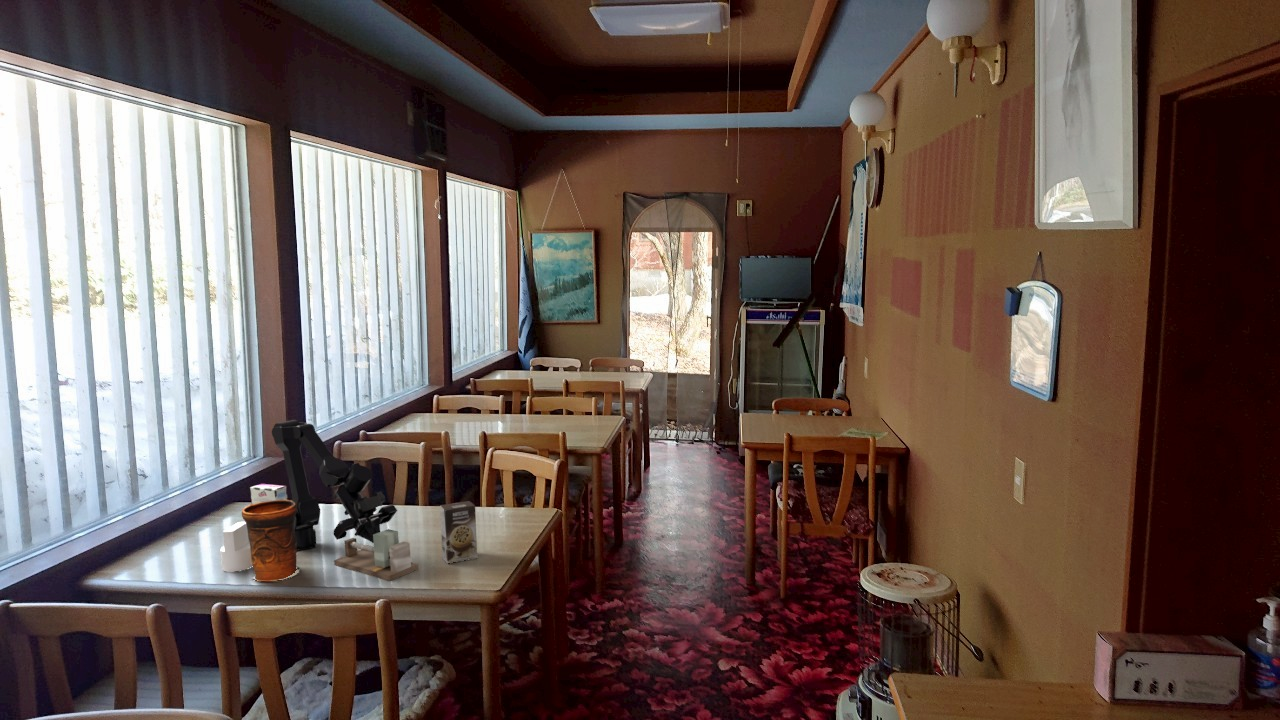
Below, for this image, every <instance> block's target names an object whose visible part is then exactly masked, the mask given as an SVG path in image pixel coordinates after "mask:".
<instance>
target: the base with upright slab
mask: <svg viewBox="0 0 1280 720" xmlns="http://www.w3.org/2000/svg"><path fill="white" fill-rule="evenodd" d="M222 537H223V538H222V539H223V546H221V548H220V549H219V551H220V561H221V571H222V572H224V571H227V572H226V573H235V572H234V571H239V572H241V571H240V570H244V571H246V570H245V569H247V568H250V567H252V566H253V565H252V563H251V549H250V543H249V539H248V530H247V524H246V522H245V521H238V522H236V523H235V524H232V525H231V526H230V527H228V528H227V529H224V530H223V531H222ZM252 568H253V567H252ZM250 569H251V568H250ZM247 570H248V569H247Z"/></svg>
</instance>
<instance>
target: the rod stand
mask: <svg viewBox="0 0 1280 720" xmlns="http://www.w3.org/2000/svg"><path fill="white" fill-rule="evenodd" d="M410 544H411V543H410V542H407V541H404V540H403V541H401V542H399V543H398V544H395V545H393V546H390V547H389V550H390V552H388V556H389V557H390V566H388V567H386V568H382V567H379V566H375V556H374V546H371V545H368V544H364V543H361V542H357V538H355V537H351V538H348V539H346V540H344V553H345V555H344V556H342V557H339V558H336V559H334V560H333V562H334V564H333V565H334V566H336V567H341V568H343V569H348V570H350V571H354V572H356V573H361V574H364V575H368V576H371V577H375V578H378V579H381V580H385V581H388V582H391V581H394V580H396V579H398V578H401V577H402V576H406V575H407V574H410V573H412V572H415V571H418V570H419V564H418V563H416V562H412V561H411V545H410ZM414 570H415V571H414ZM409 572H410V573H409Z"/></svg>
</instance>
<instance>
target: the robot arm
mask: <svg viewBox="0 0 1280 720" xmlns="http://www.w3.org/2000/svg"><path fill="white" fill-rule="evenodd" d="M271 435H272V438H273V440H274V444H275V446H277V447H278V448H279V449H280V451H282V453H283V454H282V455H283V458H284V462H285V463H284V464H285V470H286V474H287V478H288V482H289V483H288V484H289V488H290V493H291V499H290V501H293V502H295V503H296V505H297V513H296V515H295V520H294V531H295V537H296V541H297V551H302V549H303V550H309V549H314V548H316V544H317V534H316V533H317V532H316V529H315V528H314V526H318V525H319V521H320V516H321V508H320V505H319V504H320V503H319V499H318V498H317V497H313V496H312V494H310V490H309V483H308V480H307V475H306V471H305V466H304V460H303V456H302V451H301V447H302V445H303V447H304V448H305V450H306V451H307V452H308V454H309V456H310V457H312V459H313V460H314V463H316V465H317V467H318V468H319V471H318V472H319V473H318V476H319V477H320V479H321V481H322V483H323V485H324V486H325V487H327V488H334V487H337V486H339V487H338V488H337V489H335V490H334V492H333V495H332V500H334V501H335V500H338V499H339V501H340V503H341V505H342V506H343V508H344V509H345V511H344V512H343V513H344V515H345V516H348V515H349V517H348V518H345V519H342V520H339V522H338V524H337V525H336V527H335V528H334V529H333V535H334V537H335V539H336V541H337V540H340V539H343V538H346V537H347V534H348V533H347V531H350V530H351V531H352V530H353V529H354V530H355V533H354V537H356V536H359V537H360V538H363V539H366V540H367V541H369V542H370V543H372V544H374V541H373V534H376V533H379V532H381V525H384V524H386V523H388V522H390V521H391V520H392V518H393V517H394V515H396V513H397V512H398V509H397V508H396V505H394V504H388V505H385V506H383V503H385V502H386V498H385V495H384V494H383V492H382V491H378V492H376V493H374V494H373V495H372V496H371V497H367V496H364V497H363V495H362V492H363V491H364V490H365V488H366V487H367V485H368V484H369V483H370V481H371V480H372V478H373V472H372V470H371V469H369V468H368V467H367V466H365V465H361V464H360V463H359V462H355V463H352V464H351V466H350V467H349V466H348V465H347V464H346V463H345V462H344V461H343V460H341V459H339V458H337V457H335V456H334V455H333V454H332V452H331V450H329V448H328V447H327V445H326V444H325V443H324V441H323V440H322V439H321V437H320V436H319V434H318V433H317V432H316V429H315V426H314V424H312V423H307V422H299V420H297V419H291V420H286V421H283V422H277V423H275V424H274V425H273V427H272V429H271ZM378 507H381V508H380V509H379V510H378V509H377V508H378ZM377 510H378V511H377ZM375 512H377V513H375ZM374 513H375V514H374Z"/></svg>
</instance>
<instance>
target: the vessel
mask: <svg viewBox="0 0 1280 720" xmlns="http://www.w3.org/2000/svg"><path fill="white" fill-rule="evenodd" d="M296 513H297V505H296V503H295V502H293V501H291V499H290V500H289V499H288V500H274V501H268V502H260V503H256V504H249V505H247V506H245V507H244V508H243V509H242V510H241V517H242V519H243V522H246V524H247V530H248V539H249V543H250V549H251V563H252V565H253V567H252V568H253V571H254V572H253V574H254V573H255V574H254V575H256V576H255V580H257V581H256V582H277V581H276V580H279V579H284V578H286V577H288V576H290V575H292V574H293V573H295V571H296V570H297V569H296V567H297V553H298V550H297V541H296V537H295V531H294V520H295V515H296ZM255 580H254V581H255Z"/></svg>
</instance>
